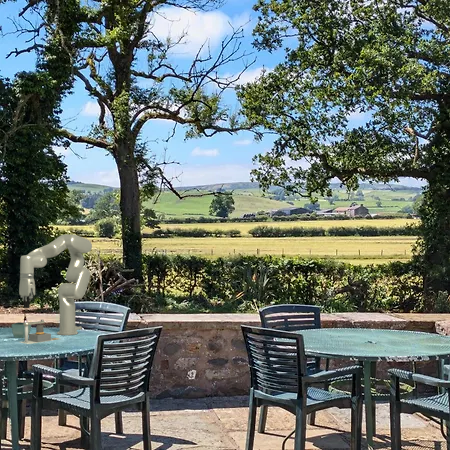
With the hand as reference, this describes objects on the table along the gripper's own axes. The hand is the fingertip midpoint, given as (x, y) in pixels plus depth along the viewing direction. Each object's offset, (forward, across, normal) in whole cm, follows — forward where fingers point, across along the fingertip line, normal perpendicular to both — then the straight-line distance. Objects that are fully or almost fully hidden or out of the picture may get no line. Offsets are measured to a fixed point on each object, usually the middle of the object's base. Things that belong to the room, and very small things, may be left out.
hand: (26, 308), depth 407 cm
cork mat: (+19, -8, -14) cm, 25 cm away
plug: (+19, -7, -5) cm, 21 cm away
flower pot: (+20, +12, -5) cm, 24 cm away
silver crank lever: (+9, -7, -1) cm, 11 cm away
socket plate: (+19, -7, -2) cm, 21 cm away
